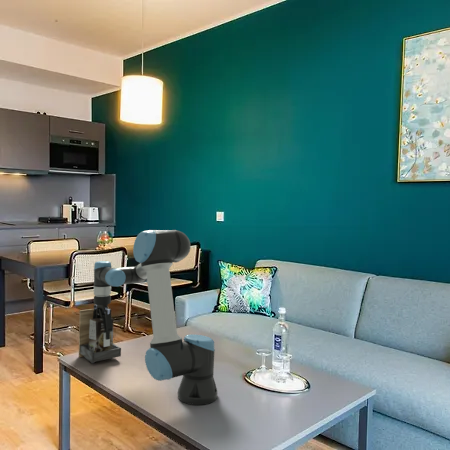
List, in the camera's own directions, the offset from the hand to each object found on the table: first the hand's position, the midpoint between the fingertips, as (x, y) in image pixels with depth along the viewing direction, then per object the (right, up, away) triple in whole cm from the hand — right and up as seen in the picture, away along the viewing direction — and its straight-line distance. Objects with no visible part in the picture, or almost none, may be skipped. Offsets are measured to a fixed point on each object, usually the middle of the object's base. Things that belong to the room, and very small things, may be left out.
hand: (101, 343), depth 202 cm
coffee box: (-1, -5, +1) cm, 5 cm away
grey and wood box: (-2, -8, +2) cm, 8 cm away
